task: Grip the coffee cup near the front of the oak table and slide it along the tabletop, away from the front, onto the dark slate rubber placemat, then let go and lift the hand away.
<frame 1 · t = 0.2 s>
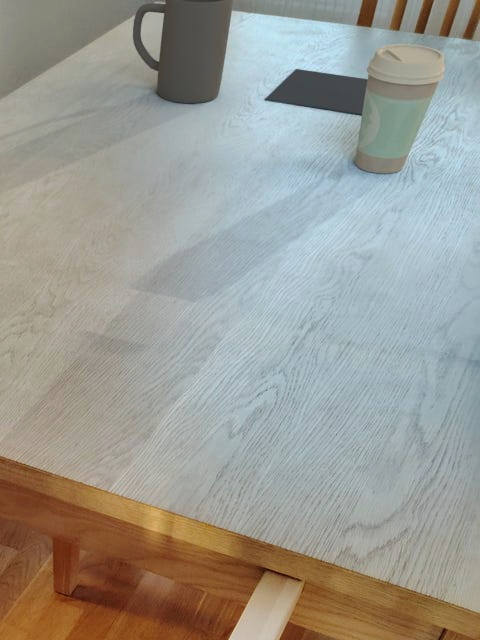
mug: (172, 93, 130), on the table
coffee cup: (378, 166, 111), on the table
placemat: (348, 94, 128), on the table
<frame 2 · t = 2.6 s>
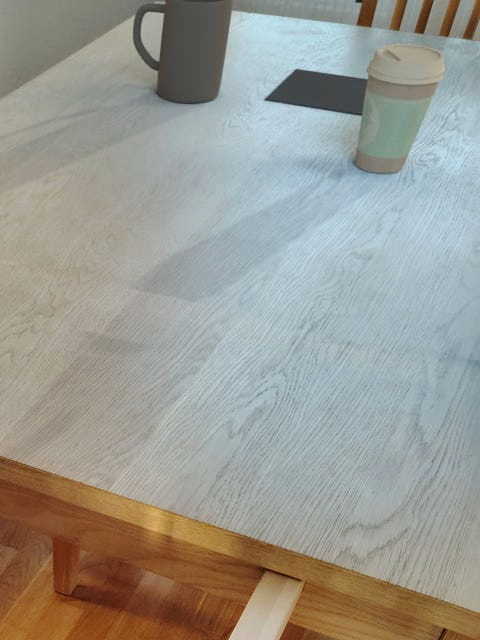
hand: (422, 4, 99), 17 cm above the table, tool pointing down, fingers open, 13 cm apart
nothing on the table moved.
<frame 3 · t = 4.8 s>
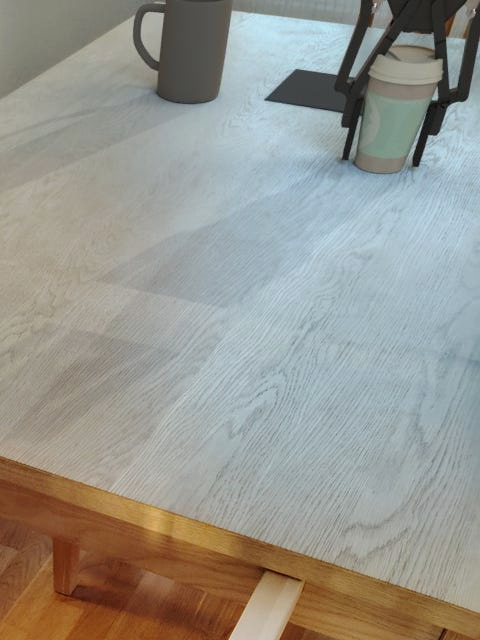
hand: (380, 159, 111), 1 cm above the table, tool pointing down, fingers closed on coffee cup, 8 cm apart
coffee cup: (378, 166, 111), on the table, touching gripper
everything else where it was.
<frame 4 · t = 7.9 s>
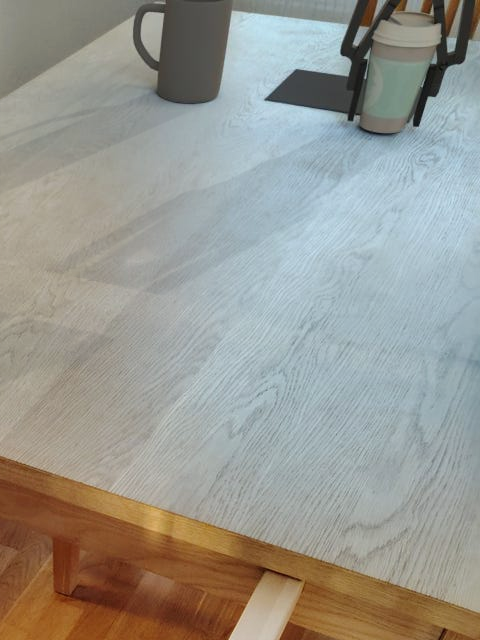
hand: (383, 120, 119), 1 cm above the table, tool pointing down, fingers closed on coffee cup, 8 cm apart
coffee cup: (381, 127, 119), on the table, touching gripper
everything else where it was.
when the fingers open (1 cm above the table, at t = 11.1 s): coffee cup stays where it is, resting on placemat.
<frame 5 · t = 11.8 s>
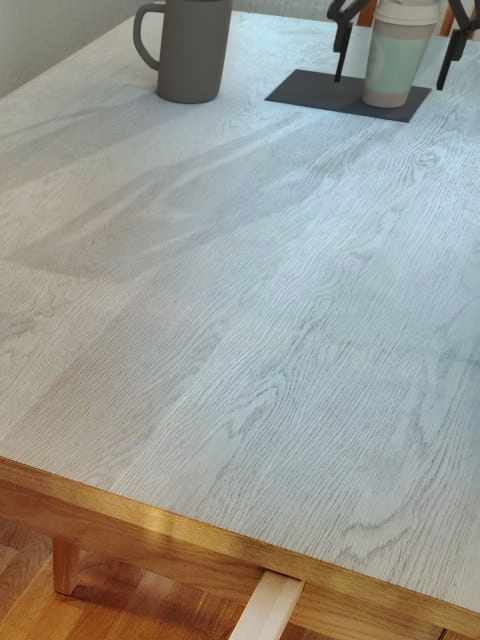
hand: (387, 83, 124), 2 cm above the table, tool pointing down, fingers open, 13 cm apart
coffee cup: (382, 102, 126), resting on placemat
everything else where it was.
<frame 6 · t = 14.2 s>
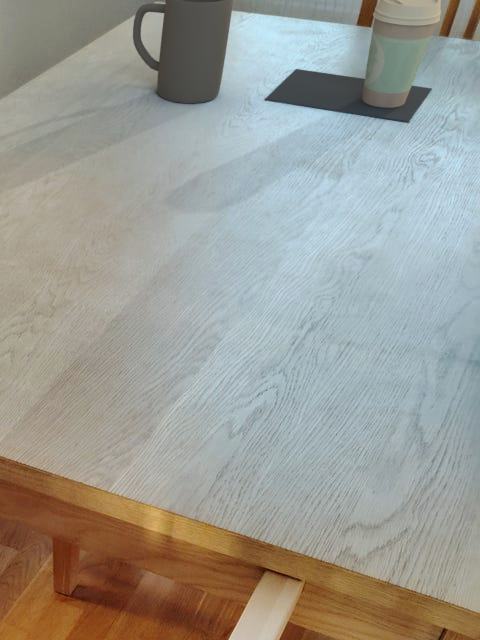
nothing on the table moved.
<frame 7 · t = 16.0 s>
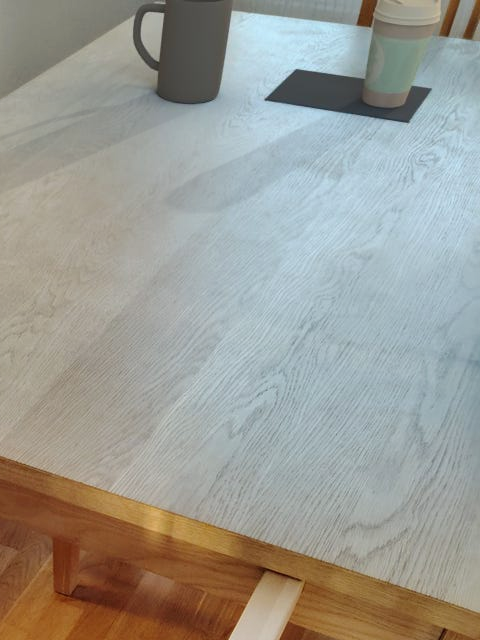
nothing on the table moved.
at the end: coffee cup inside the target area on the placemat (5.7 cm from its centre), point 0.0 cm above the placemat's base; coffee cup tilted 0°; the gripper is holding nothing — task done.
